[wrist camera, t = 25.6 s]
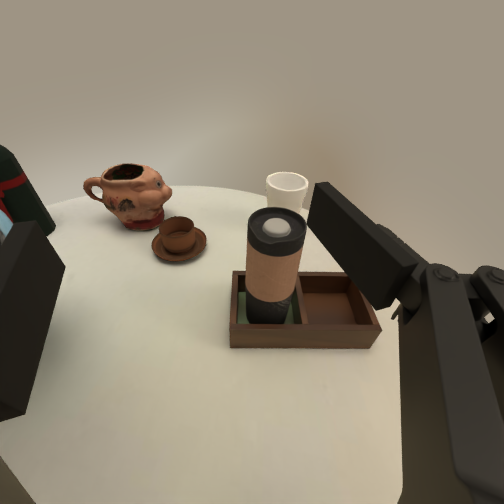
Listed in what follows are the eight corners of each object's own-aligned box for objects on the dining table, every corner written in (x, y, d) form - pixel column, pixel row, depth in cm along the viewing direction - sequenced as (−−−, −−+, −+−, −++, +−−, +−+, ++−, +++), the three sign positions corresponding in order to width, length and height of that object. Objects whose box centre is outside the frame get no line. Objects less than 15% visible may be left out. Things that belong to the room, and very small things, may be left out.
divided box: (233, 290, 51) (232, 270, 47) (348, 291, 51) (357, 272, 48) (230, 348, 42) (229, 329, 38) (369, 348, 43) (382, 330, 39)
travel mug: (278, 293, 49) (292, 202, 36) (294, 327, 44) (319, 236, 31) (239, 302, 48) (240, 210, 34) (251, 338, 42) (258, 246, 29)
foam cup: (299, 240, 63) (309, 193, 54) (261, 237, 63) (265, 189, 54) (298, 218, 70) (306, 173, 61) (264, 215, 70) (267, 170, 62)
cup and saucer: (145, 243, 60) (138, 221, 56) (192, 226, 66) (189, 205, 62) (166, 274, 53) (160, 252, 49) (216, 252, 59) (215, 230, 55)
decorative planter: (88, 238, 61) (61, 184, 51) (104, 209, 70) (83, 159, 60) (175, 234, 63) (164, 181, 54) (180, 207, 72) (171, 158, 62)
